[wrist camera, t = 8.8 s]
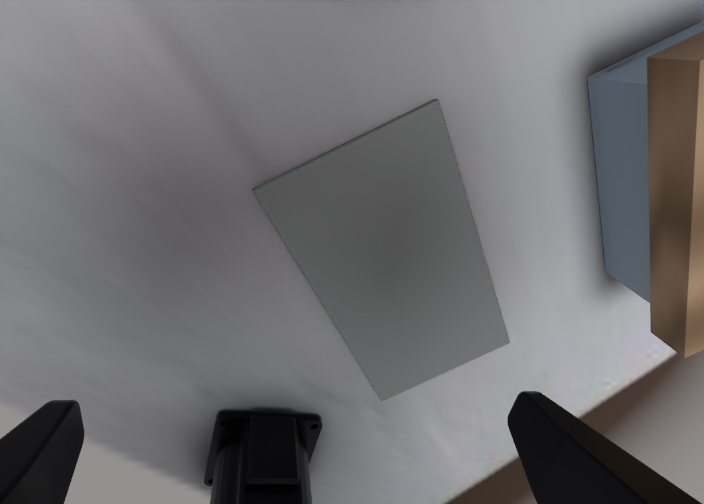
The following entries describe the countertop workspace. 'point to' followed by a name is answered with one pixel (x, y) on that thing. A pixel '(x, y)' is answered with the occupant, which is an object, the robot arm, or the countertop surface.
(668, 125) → the walnut lid
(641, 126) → the ceramic dish
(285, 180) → the rubber mat
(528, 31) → the countertop surface
